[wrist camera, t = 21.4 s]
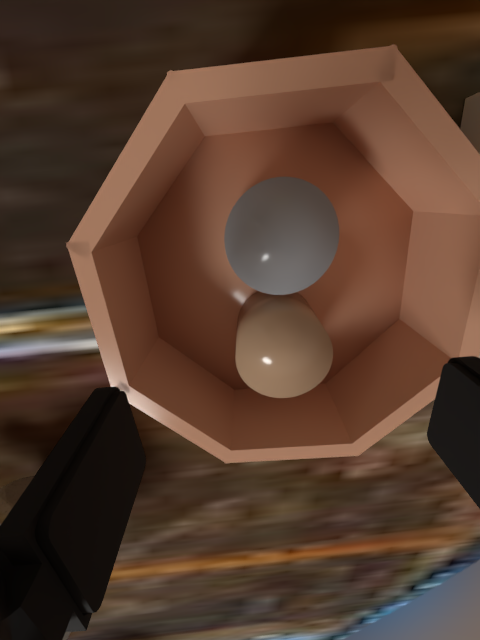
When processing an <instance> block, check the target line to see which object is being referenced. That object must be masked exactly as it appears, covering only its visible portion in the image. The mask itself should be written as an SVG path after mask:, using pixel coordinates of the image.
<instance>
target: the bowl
mask: <svg viewBox="0 0 480 640" xmlns="http://www.w3.org/2000/svg"><path fill="white" fill-rule="evenodd" d="M275 177H295V178H299V179H303V180H305V181H307V182H310V183H311V184H313V185H315V186H316V187H318V188H319V189H320V190H321V191H322V192H323V193H324V194H325V195H326V196H327V197H328V199H329V200H330V202H331V203H332V205H333V207H334V209H335V211H336V215H337V218H338V223H339V243H338V247H337V251H336V254H335V257H334V259H333V261H332V263H331V265H330V266H329V268H328V269H327V271H326V272H325V273H324V274H323V275H322V276H321V277H320V278H319V279H318V280H317V281H316V282H315V283H313V284H312V285H311V286H309V287H307V288H305V289H303V290H301V291H298V292H297V293H299V294H300V295H302V296H303V297H304V298H305V299H306V301H307V302H308V303H309V305H310V307H311V308H312V310H313V311H314V313H315V315H316V316H317V318H318V319H319V321H320V323H321V324H322V326H323V327H324V329H325V331H326V332H327V334H328V336H329V337H330V340H331V343H332V347H333V360H332V364H331V367H330V369H329V372H328V373H327V375H326V376H325V378H324V379H323V380H322V381H321V382H320V383H319V384H318V385H317V386H316V387H315V388H313V389H312V390H310V391H308V392H306V393H304V394H302V395H299V396H295V397H290V398H273V397H269V396H265V395H262V394H260V393H258V392H256V391H255V390H253V389H252V388H250V387H249V386H248V385H247V384H246V383H245V382H244V381H243V379H242V378H241V376H240V374H239V372H238V370H237V366H236V357H235V356H236V336H237V320H238V314H239V311H240V309H241V307H242V305H243V304H244V303H245V301H246V300H247V299H248V298H249V297H250V296H251V295H253V294H254V293H256V292H258V291H257V290H255V289H253V288H251V287H250V286H248V285H247V284H245V283H244V282H243V281H242V280H241V279H240V278H239V277H238V276H237V275H236V273H235V272H234V270H233V269H232V267H231V265H230V263H229V261H228V258H227V255H226V250H225V242H224V235H225V227H226V223H227V220H228V217H229V214H230V212H231V210H232V208H233V206H234V205H235V203H236V202H237V201H238V199H239V198H240V197H241V196H242V195H243V194H244V193H245V192H246V191H247V190H248V189H250V188H251V187H253V186H254V185H256V184H258V183H260V182H262V181H264V180H267V179H270V178H275ZM66 247H68V250H69V253H70V256H71V259H72V263H73V266H74V269H75V272H76V276H77V279H78V282H79V285H80V289H81V292H82V295H83V298H84V301H85V305H86V308H87V311H88V314H89V318H90V321H91V324H92V327H93V331H94V334H95V337H96V340H97V344H98V347H99V350H100V353H101V356H102V360H103V363H104V366H105V369H106V373H107V376H108V379H109V382H110V386H111V387H118V388H119V389H120V391H124V392H125V393H126V395H127V399H128V402H129V404H131V405H133V406H134V407H136V408H138V409H139V410H141V411H142V412H144V413H146V414H147V415H149V416H151V417H152V418H154V419H155V420H157V421H159V422H160V423H162V424H164V425H165V426H167V427H168V428H170V429H172V430H173V431H175V432H177V433H178V434H180V435H181V436H183V437H185V438H186V439H188V440H190V441H191V442H193V443H194V444H196V445H198V446H199V447H201V448H203V449H204V450H206V451H207V452H209V453H211V454H212V455H214V456H216V457H217V458H219V459H220V460H222V461H224V462H225V463H236V462H254V461H272V460H290V459H308V458H326V457H343V456H360V454H361V453H362V452H364V451H365V450H366V449H368V448H369V447H371V446H372V445H373V444H375V443H376V442H377V441H379V440H380V439H381V438H383V437H384V436H385V435H387V434H388V433H389V432H391V431H392V430H393V429H395V428H396V427H398V426H399V425H400V424H402V423H403V422H404V421H406V420H407V419H408V418H410V417H411V416H412V415H414V414H415V413H416V412H418V411H419V410H420V409H422V408H423V407H425V406H426V405H427V404H429V403H430V402H431V401H433V400H434V399H435V397H436V393H437V389H438V385H439V380H440V376H441V372H442V368H443V366H444V365H445V364H446V363H448V361H449V360H450V359H451V358H455V357H466V356H476V357H479V353H480V154H479V153H478V152H477V150H476V149H475V148H474V146H473V145H472V144H471V143H470V141H469V140H468V139H467V137H466V136H465V135H464V134H463V132H462V131H461V130H460V129H459V127H458V126H457V125H456V123H455V122H454V121H453V120H452V118H451V117H450V116H449V114H448V113H447V112H446V111H445V109H444V108H443V107H442V105H441V104H440V103H439V102H438V100H437V99H436V98H435V96H434V95H433V94H432V93H431V91H430V90H429V89H428V87H427V86H426V85H425V84H424V82H423V81H422V80H421V79H420V77H419V76H418V75H417V73H416V72H415V71H414V70H413V68H412V67H411V66H410V64H409V63H408V62H407V61H406V59H405V58H404V57H403V55H402V54H401V53H400V52H399V50H398V49H397V45H394V44H392V45H391V46H385V47H377V48H368V49H359V50H351V51H342V52H334V53H325V54H317V55H308V56H300V57H291V58H283V59H274V60H266V61H257V62H248V63H240V64H231V65H223V66H214V67H206V68H197V69H189V70H180V71H172V70H170V71H169V72H167V76H166V78H165V80H164V82H163V83H162V85H161V87H160V88H159V90H158V92H157V93H156V95H155V97H154V98H153V100H152V102H151V104H150V105H149V107H148V109H147V110H146V112H145V114H144V115H143V117H142V119H141V120H140V122H139V124H138V126H137V127H136V129H135V131H134V132H133V134H132V136H131V137H130V139H129V141H128V142H127V144H126V146H125V148H124V149H123V151H122V153H121V154H120V156H119V158H118V159H117V161H116V163H115V164H114V166H113V168H112V170H111V171H110V173H109V175H108V176H107V178H106V180H105V181H104V183H103V185H102V186H101V188H100V190H99V192H98V193H97V195H96V197H95V198H94V200H93V202H92V203H91V205H90V207H89V209H88V210H87V212H86V214H85V215H84V217H83V219H82V220H81V222H80V224H79V225H78V227H77V229H76V231H75V232H74V234H73V236H72V237H71V239H70V241H69V242H68V243H67V246H66Z"/></svg>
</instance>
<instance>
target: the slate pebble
mask: <svg viewBox="0 0 480 640" xmlns="http://www.w3.org/2000/svg"><path fill="white" fill-rule="evenodd" d="M224 242H225V250H226V255H227V258H228V261H229V263H230V265H231V267H232V269H233V270H234V272H235V273H236V275H237V276H238V277H239V278H240V279H241V280H242V281H243V282H244V283H245V284H247V285H248V286H250V287H251V288H253V289H255V290H257V291H260V292H262V293H266V294H272V295H286V294H292V293H295V292H298V291H301V290H303V289H305V288H307V287H309V286H311V285H312V284H313V283H315V282H316V281H317V280H318V279H319V278H320V277H321V276H322V275H323V274H324V273H325V272H326V271H327V269H328V268H329V266H330V265H331V263H332V261H333V259H334V257H335V254H336V251H337V247H338V243H339V223H338V218H337V215H336V211H335V209H334V207H333V205H332V203H331V202H330V200H329V199H328V197H327V196H326V195H325V194H324V193H323V192H322V191H321V190H320V189H319V188H318V187H316V186H315V185H313V184H311V183H310V182H307V181H305V180H303V179H299V178H295V177H275V178H270V179H267V180H264V181H262V182H260V183H258V184H256V185H254V186H253V187H251V188H250V189H248V190H247V191H246V192H245V193H244V194H243V195H242V196H241V197H240V198H239V199H238V201H237V202H236V203H235V205H234V206H233V208H232V210H231V212H230V214H229V217H228V220H227V223H226V227H225V235H224Z"/></svg>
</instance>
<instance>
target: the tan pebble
mask: <svg viewBox="0 0 480 640" xmlns="http://www.w3.org/2000/svg"><path fill="white" fill-rule="evenodd" d="M235 357H236V366H237V370H238V372H239V374H240V376H241V378H242V379H243V381H244V382H245V383H246V384H247V385H248V386H249V387H250V388H252V389H253V390H255V391H256V392H258V393H260V394H262V395H265V396H269V397H273V398H290V397H295V396H299V395H302V394H304V393H306V392H308V391H310V390H312V389H313V388H315V387H316V386H317V385H318V384H319V383H320V382H321V381H322V380H323V379H324V378H325V376H326V375H327V373H328V372H329V369H330V367H331V364H332V360H333V347H332V343H331V340H330V337H329V336H328V334H327V332H326V331H325V329H324V327H323V326H322V324H321V323H320V321H319V319H318V318H317V316H316V315H315V313H314V311H313V310H312V308H311V307H310V305H309V303H308V302H307V301H306V299H305V298H304V297H303V296H302V295H300V294H299V293H297V292H295V293H292V294H286V295H272V294H266V293H262V292H260V291H258V292H256V293H254V294H253V295H251V296H250V297H249V298H248V299H247V300H246V301H245V303H244V304H243V305H242V307H241V309H240V311H239V314H238V320H237V336H236V356H235Z"/></svg>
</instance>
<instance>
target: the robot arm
mask: <svg viewBox="0 0 480 640" xmlns="http://www.w3.org/2000/svg"><path fill="white" fill-rule="evenodd" d="M427 437H428V440H429V443H430V444H431V446H432V447H433V449H434V450H435V451H436V453H437V454H438V455H439V456H440V458H441V459H442V460H443V462H444V463H445V464H446V466H447V467H448V468H449V469H450V471H451V472H452V473H453V475H454V476H455V477H456V478H457V480H458V481H459V482H460V484H461V485H462V486H463V488H464V489H465V490H466V491H467V493H468V494H469V495H470V497H471V498H472V499H473V501H474V502H475V503H476V504H477V506H478V507H479V508H480V358H478V357H476V356H466V357H455V358H451V359H450V360H449V361H448V363H446V364H445V365H444V366H443V368H442V372H441V376H440V380H439V385H438V389H437V393H436V397H435V402H434V406H433V410H432V414H431V418H430V423H429V427H428V431H427ZM145 463H146V458H145V453H144V450H143V447H142V443H141V440H140V437H139V434H138V431H137V427H136V424H135V421H134V418H133V415H132V411H131V408H130V405H129V402H128V399H127V395H126V393H125V392H124V391H120V389H119V388H118V387H105V388H97V389H95V390H94V391H93V393H92V394H91V395H90V397H89V398H88V400H87V401H86V403H85V404H84V405H83V407H82V408H81V410H80V411H79V413H78V414H77V416H76V417H75V418H74V420H73V421H72V423H71V424H70V426H69V427H68V429H67V430H66V431H65V433H64V434H63V436H62V437H61V439H60V440H59V442H58V443H57V444H56V446H55V447H54V449H53V450H52V452H51V453H50V455H49V456H48V457H47V459H46V460H45V462H44V463H43V465H42V466H41V468H40V469H39V470H38V472H37V473H36V475H35V476H34V478H33V479H32V481H31V482H30V483H29V485H28V486H27V488H26V489H25V491H24V492H23V493H22V495H21V496H20V498H19V499H18V501H17V502H16V504H15V505H14V506H13V508H12V509H11V511H10V512H9V514H8V515H7V517H6V518H5V519H4V521H3V522H2V524H1V525H0V640H63V637H64V634H65V632H74V631H86V630H87V627H88V624H89V621H90V618H91V615H92V613H94V612H97V610H98V609H99V608H100V606H101V603H102V601H103V598H104V595H105V592H106V588H107V585H108V582H109V579H110V576H111V573H112V570H113V566H114V563H115V560H116V557H117V554H118V551H119V548H120V544H121V541H122V538H123V535H124V532H125V529H126V526H127V522H128V519H129V516H130V513H131V510H132V507H133V504H134V500H135V497H136V494H137V491H138V488H139V485H140V482H141V478H142V475H143V472H144V469H145Z"/></svg>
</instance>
